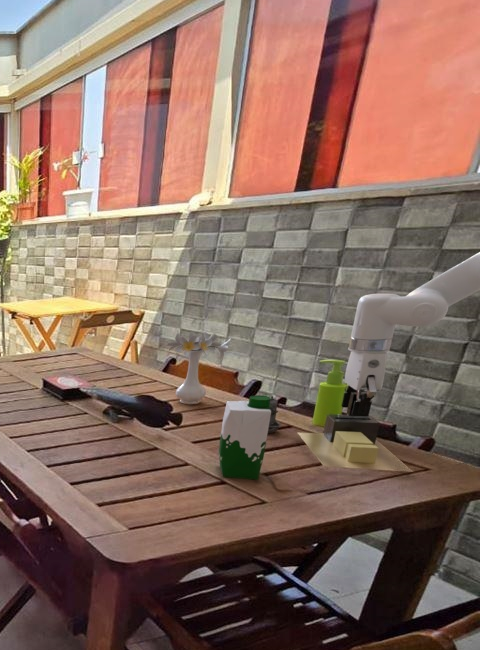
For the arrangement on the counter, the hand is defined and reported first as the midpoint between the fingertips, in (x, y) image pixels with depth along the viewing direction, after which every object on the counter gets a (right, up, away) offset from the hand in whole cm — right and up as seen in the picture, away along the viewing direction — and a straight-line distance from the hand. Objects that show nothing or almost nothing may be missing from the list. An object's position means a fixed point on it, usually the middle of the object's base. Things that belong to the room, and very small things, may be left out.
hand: (354, 411), depth 129 cm
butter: (-5, -11, -4) cm, 12 cm away
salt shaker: (-12, -7, +14) cm, 20 cm away
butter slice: (-7, -13, -9) cm, 17 cm away
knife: (+1, -8, +3) cm, 8 cm away
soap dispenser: (+5, -4, +15) cm, 16 cm away
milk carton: (-35, -16, -5) cm, 39 cm away
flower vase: (-13, +5, +48) cm, 50 cm away
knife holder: (+1, -8, +3) cm, 8 cm away
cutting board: (-4, -11, -3) cm, 12 cm away
